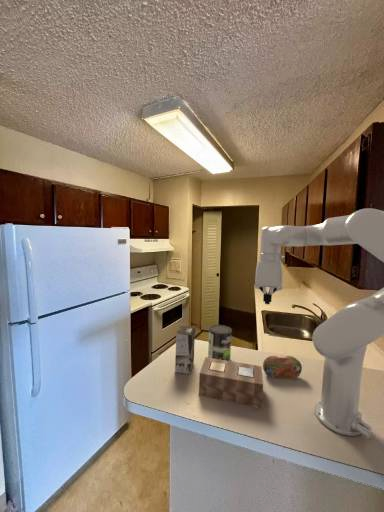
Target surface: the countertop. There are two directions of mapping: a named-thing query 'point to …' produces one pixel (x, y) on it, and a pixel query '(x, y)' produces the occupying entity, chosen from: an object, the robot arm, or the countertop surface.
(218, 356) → the coffee can
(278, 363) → the tin
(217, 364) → the beech peg
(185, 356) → the coffee box
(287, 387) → the countertop surface
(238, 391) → the sleeve block
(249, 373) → the metal peg
